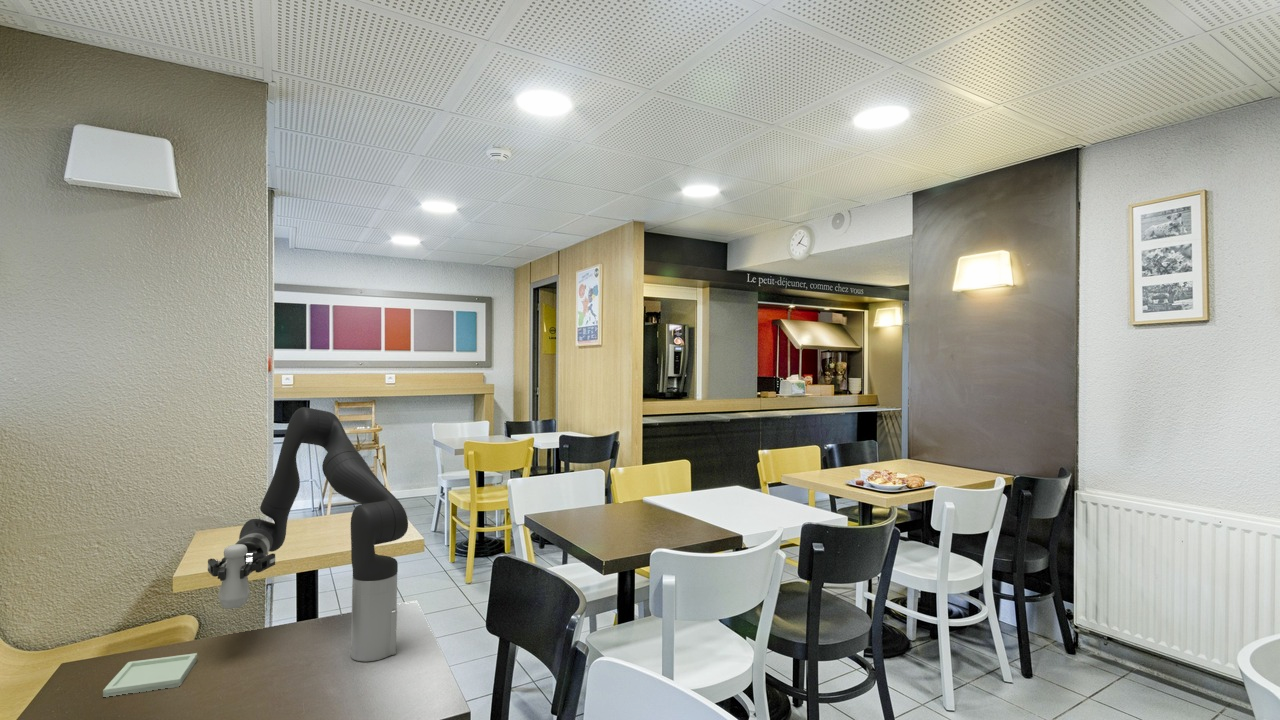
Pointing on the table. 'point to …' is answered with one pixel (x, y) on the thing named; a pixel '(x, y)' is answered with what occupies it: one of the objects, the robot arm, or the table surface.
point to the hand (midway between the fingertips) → (232, 575)
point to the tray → (151, 675)
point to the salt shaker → (234, 579)
